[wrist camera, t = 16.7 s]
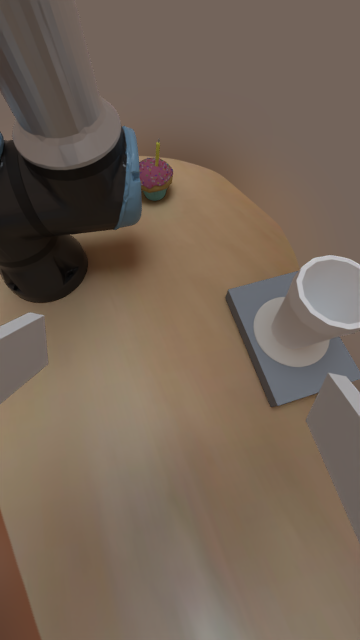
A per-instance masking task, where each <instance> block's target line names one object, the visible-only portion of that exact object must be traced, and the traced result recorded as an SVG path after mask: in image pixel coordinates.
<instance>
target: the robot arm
mask: <svg viewBox="0 0 360 640" xmlns="http://www.w3.org/2000/svg"><path fill="white" fill-rule="evenodd" d="M0 92H1V94H2V95H3V97H4V99H5V100H6V102H7V104H8V106H9V107H10V109H11V111H12V113H13V114H14V116H15V118H16V120H15V123H14V126H13V132H12V137H13V140H10V141H6V140H3V136H2V134H1V132H0V274H1V276H2V278H3V280H4V282H5V283H6V285H7V286H8V287H9V288H10V289H11V290H12V291H13V292H14V293H16V294H17V295H18V296H19V297H21V298H23V299H25V300H27V301H31V302H38V303H43V302H50V301H54V300H57V299H60V298H62V297H64V296H66V295H68V294H69V293H71V292H72V291H73V290H74V289H75V288H76V287H77V286H78V285H79V284H80V283H81V281H82V280H83V278H84V276H85V274H86V271H87V265H88V261H87V256H86V254H85V252H84V250H83V248H82V247H81V245H80V243H79V242H78V241H77V240H76V239H75V238H74V237H72V236H71V235H70V234H78V233H87V232H96V231H104V230H117V229H118V228H121V227H126V226H131V225H134V224H136V223H137V222H138V221H139V220H140V217H141V212H142V198H141V181H140V171H139V156H138V147H137V141H136V136H135V132H134V130H133V129H131V128H127V127H125V126H123V127H121V122H120V118H119V115H118V113H117V111H116V109H115V108H114V107H113V106H112V105H111V104H110V103H109V102H108V101H106V100H105V99H103V98H102V97H100V95H99V91H98V87H97V83H96V79H95V76H94V72H93V68H92V64H91V60H90V56H89V52H88V48H87V44H86V41H85V37H84V33H83V29H82V25H81V21H80V17H79V14H78V10H77V6H76V2H75V0H0ZM46 365H48V355H47V343H46V330H45V318H44V315H40V314H35V313H30V312H29V313H27V314H25V315H23V316H21V317H18V318H16V319H14V320H12V321H10V322H8V323H6V324H4V325H2V326H0V404H1V403H2V402H3V401H5V400H6V399H7V398H8V397H9V396H11V395H12V394H13V393H14V392H15V391H17V390H18V389H19V388H20V387H21V386H22V385H24V384H25V383H26V382H27V381H28V380H30V379H31V378H32V377H33V376H34V375H36V374H37V373H38V372H39V371H40V370H42V369H43V368H44V367H45V366H46ZM306 422H307V424H308V427H309V429H310V431H311V433H312V436H313V438H314V440H315V443H316V445H317V447H318V449H319V452H320V454H321V456H322V459H323V461H324V463H325V465H326V468H327V470H328V472H329V475H330V477H331V479H332V481H333V484H334V486H335V488H336V491H337V493H338V495H339V497H340V500H341V502H342V504H343V506H344V509H345V511H346V513H347V516H348V518H349V520H350V522H351V525H352V527H353V529H354V532H355V534H356V536H357V538H358V541H359V543H360V393H359V391H358V390H357V389H356V388H355V387H354V385H353V384H352V383H351V382H350V380H349V379H348V378H347V377H346V376H342V375H337V374H332V373H328V374H327V376H326V378H325V380H324V382H323V384H322V387H321V389H320V391H319V393H318V395H317V397H316V399H315V401H314V404H313V406H312V408H311V410H310V412H309V414H308V416H307V418H306Z"/></svg>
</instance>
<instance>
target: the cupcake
mask: <svg viewBox="0 0 360 640" xmlns="http://www.w3.org/2000/svg"><path fill="white" fill-rule="evenodd" d="M159 149H160V143H159V139H158V142H157V143H156V158H147V159H145V160H142V161H141V162H139V171H140V181H141V190H142V191H143V192H144V194H145V196H146V197H147V198H148V199H149V200H153V201H157V200H160V199H162V198H163V197H164V196H165V194H166V190H167V188H168V187H169V185H170V184H171V183H172V177H173V171H172V169H171V167H170V166H169V165H168V164H167V163H166V162H164V161H163V160H162V159H160V158H159Z"/></svg>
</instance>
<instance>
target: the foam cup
mask: <svg viewBox="0 0 360 640" xmlns="http://www.w3.org/2000/svg"><path fill="white" fill-rule="evenodd" d="M271 327H272V334H273V336H274V337H275V339H276V341H277V342H278V343H280V344H281V345H283V346H284V347H286V348H290V349H299V348H303V347H307V346H310V345H313V344H316V343H320V342H323V341H326V340H329V339H332V338H335V337H339V336H343V335H348V334H353V333H356V332H358V331H360V265H359V264H358V263H356V262H354V261H352V260H350V259H348V258H343V257H338V256H333V255H328V256H322V257H317V258H313V259H312V260H311V261H309V262H308V263H306V264H305V265H304V266H303V267H301V269H300V270H299V271H298V272H297V274H296V275H295V276H294V278H293V280H292V282H291V285H290V287H289V290H288V293H287V295H286V297H285V298H284V300H283V302H282V304H281V306H280V308H279V310H278V312H277V314H276V316H275V318H274V320H273V323H272V325H271Z"/></svg>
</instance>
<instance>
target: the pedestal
mask: <svg viewBox="0 0 360 640" xmlns="http://www.w3.org/2000/svg"><path fill="white" fill-rule="evenodd" d="M297 272H298V271H296V272H293V273H289V274H285V275H281V276H278V277H274V278H270V279H266V280H263V281H259V282H255V283H251V284H248V285H244V286H240V287H236V288H233V289H229V290H228V292H227V294H226V297H225V298H226V301H227V303H228V305H229V308H230V310H231V313H232V315H233V317H234V320H235V322H236V325H237V327H238V329H239V332H240V334H241V337H242V339H243V341H244V344H245V346H246V349H247V351H248V353H249V356H250V358H251V361H252V363H253V365H254V368H255V370H256V373H257V375H258V377H259V380H260V382H261V385H262V387H263V390H264V392H265V394H266V397H267V399H268V402H269V404H270V406H271V407H274V406H279V405H282V404H285V403H288V402H291V401H294V400H297V399H300V398H303V397H306V396H309V395H312V394H315V393H318V392H319V391H320V389H321V387H322V384H323V382H324V380H325V378H326V376H327V374H328V373H332V374H337V375H342V376H346V377H347V378H348V379H349V380H350V382H352V381H355V380H358V379H360V371H359V369H358V368H357V366H356V365H355V363H354V361H353V359H352V358H351V356H350V354H349V352H348V351H347V349H346V347H345V345H344V344H343V342H342V340H341V339H340V337H335V338H332V339H329V340H326V341H323V342H320V343H316V344H313V345H310V346H307V347H303V348H299V349H290V348H286V347H284V346H283V345H281V344H280V343H278V342H277V341H276V339H275V337H274V336H273V334H272V327H271V325H272V323H273V320H274V318H275V316H276V314H277V312H278V310H279V308H280V306H281V304H282V302H283V300H284V298H285V297H286V295H287V293H288V290H289V287H290V285H291V282H292V280H293V278H294V276H295V275H296V274H297Z"/></svg>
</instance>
